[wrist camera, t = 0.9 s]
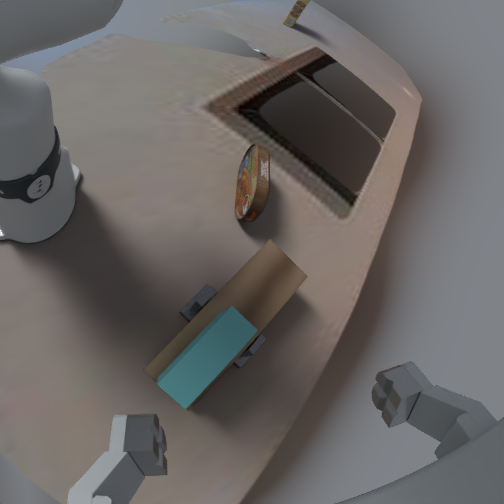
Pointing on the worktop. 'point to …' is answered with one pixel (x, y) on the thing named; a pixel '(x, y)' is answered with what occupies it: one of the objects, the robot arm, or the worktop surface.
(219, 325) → the block
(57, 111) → the worktop surface
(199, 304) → the beam stand
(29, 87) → the robot arm
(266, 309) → the beam
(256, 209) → the tin
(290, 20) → the candy box
